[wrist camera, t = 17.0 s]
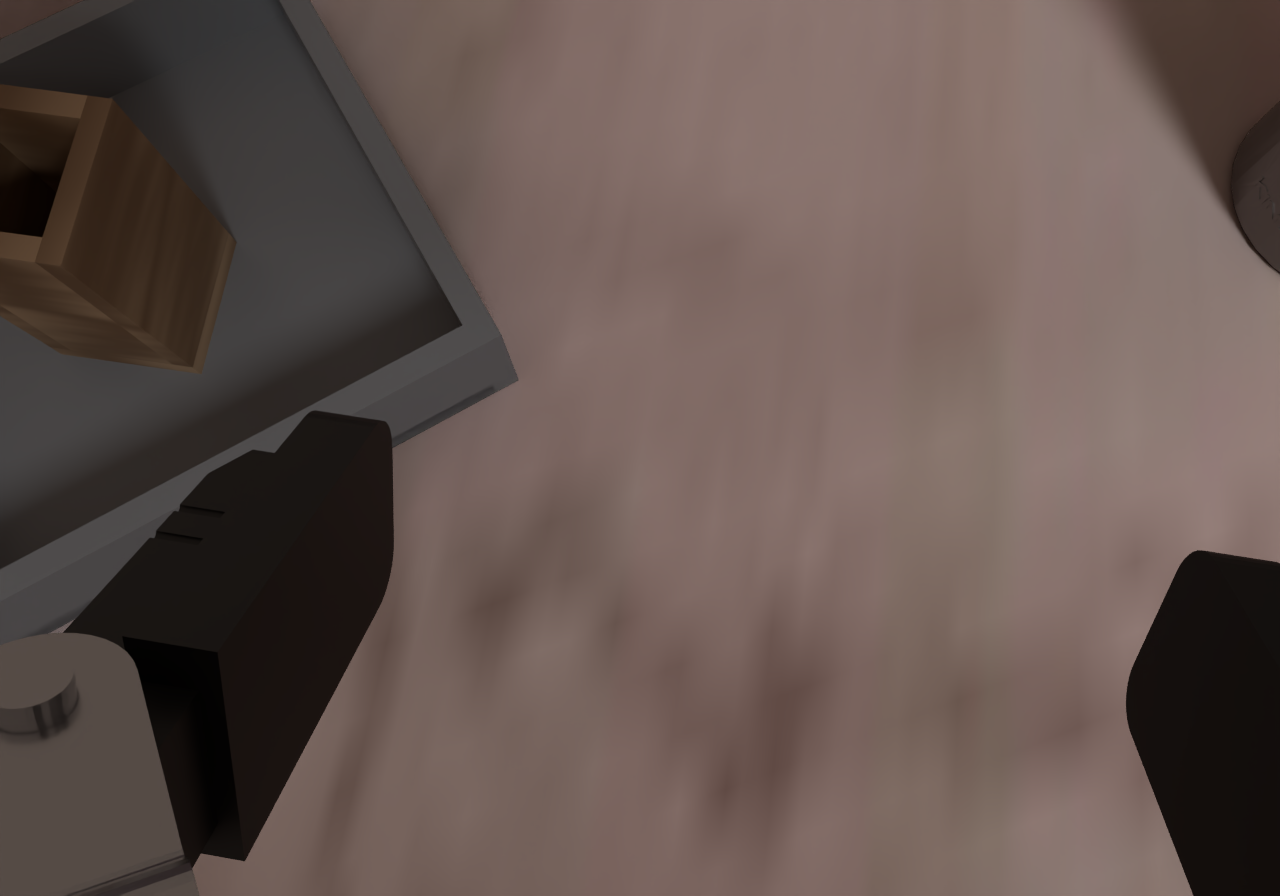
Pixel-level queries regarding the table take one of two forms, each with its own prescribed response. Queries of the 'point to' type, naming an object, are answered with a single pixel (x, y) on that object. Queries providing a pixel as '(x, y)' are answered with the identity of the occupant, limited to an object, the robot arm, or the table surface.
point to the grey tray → (228, 288)
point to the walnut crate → (103, 236)
